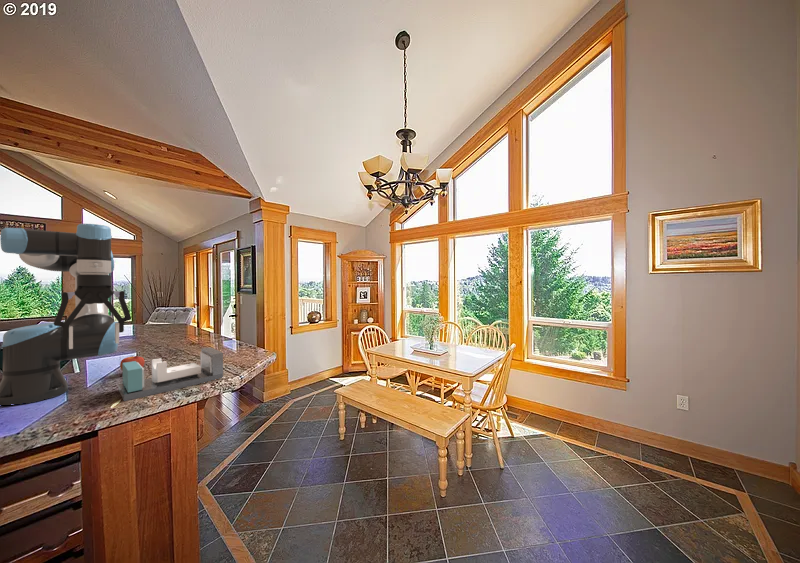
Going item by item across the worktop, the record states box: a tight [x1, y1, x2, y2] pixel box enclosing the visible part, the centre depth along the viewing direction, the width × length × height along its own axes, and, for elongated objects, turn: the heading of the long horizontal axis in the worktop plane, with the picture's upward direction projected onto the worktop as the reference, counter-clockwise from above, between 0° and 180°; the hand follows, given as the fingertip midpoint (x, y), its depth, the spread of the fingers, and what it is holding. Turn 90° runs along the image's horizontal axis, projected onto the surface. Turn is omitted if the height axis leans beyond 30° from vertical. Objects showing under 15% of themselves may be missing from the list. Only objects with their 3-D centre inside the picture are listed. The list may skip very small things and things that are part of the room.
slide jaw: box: [122, 361, 145, 393], centre depth 99 cm, size 13×4×7 cm, turn 49°
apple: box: [119, 353, 145, 372], centre depth 119 cm, size 7×7×8 cm
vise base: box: [117, 368, 224, 402], centre depth 107 cm, size 14×28×2 cm, turn 139°
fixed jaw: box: [199, 346, 224, 376], centre depth 116 cm, size 14×4×8 cm, turn 49°
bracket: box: [151, 358, 201, 383], centre depth 108 cm, size 13×7×8 cm, turn 142°
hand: (95, 345), depth 92 cm, fingers open, 9 cm apart
